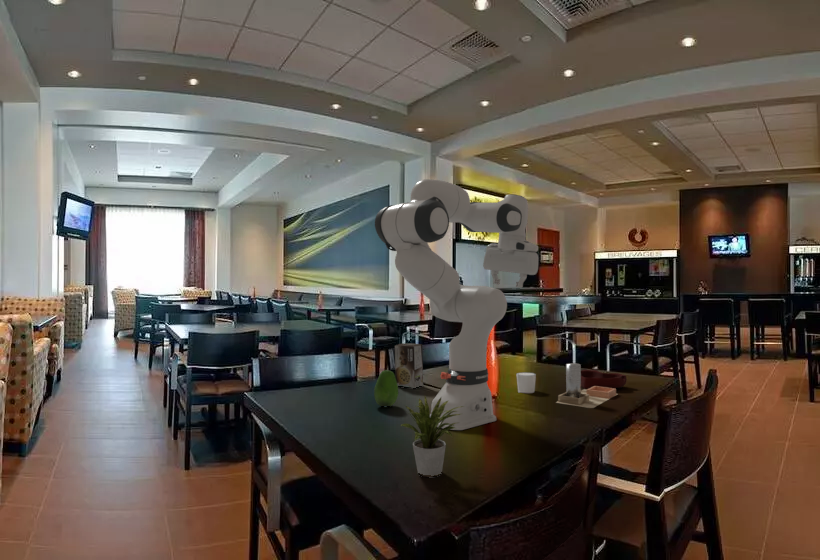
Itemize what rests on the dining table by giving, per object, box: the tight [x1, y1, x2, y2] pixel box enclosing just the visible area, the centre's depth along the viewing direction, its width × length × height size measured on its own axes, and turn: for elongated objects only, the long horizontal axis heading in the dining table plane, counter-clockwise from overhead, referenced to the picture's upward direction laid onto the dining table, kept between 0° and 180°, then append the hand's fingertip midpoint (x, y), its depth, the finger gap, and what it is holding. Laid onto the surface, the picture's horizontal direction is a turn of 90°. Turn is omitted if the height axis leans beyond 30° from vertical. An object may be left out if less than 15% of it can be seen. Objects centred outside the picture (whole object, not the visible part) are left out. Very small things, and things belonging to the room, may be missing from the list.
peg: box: [565, 362, 582, 398], centre depth 164 cm, size 4×4×12 cm
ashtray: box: [581, 369, 627, 390], centre depth 188 cm, size 18×16×5 cm
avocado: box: [373, 369, 399, 407], centre depth 163 cm, size 8×8×12 cm
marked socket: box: [586, 386, 617, 400], centre depth 172 cm, size 7×7×2 cm
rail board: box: [555, 388, 619, 409], centre depth 168 cm, size 24×12×3 cm, turn 140°
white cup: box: [515, 371, 537, 394], centre depth 179 cm, size 7×7×7 cm
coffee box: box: [394, 342, 424, 389], centre depth 194 cm, size 9×6×16 cm
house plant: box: [400, 396, 464, 476], centre depth 106 cm, size 14×14×16 cm
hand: (507, 285), depth 169 cm, fingers open, 8 cm apart
